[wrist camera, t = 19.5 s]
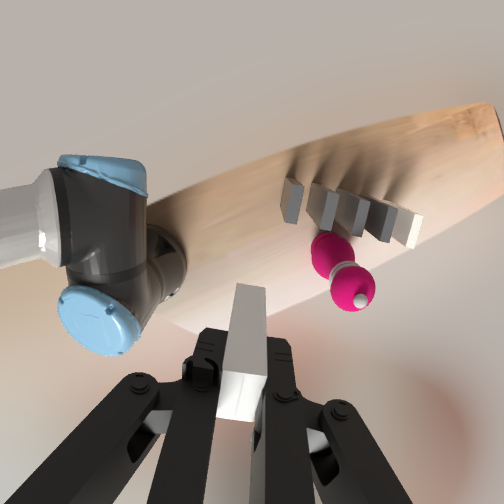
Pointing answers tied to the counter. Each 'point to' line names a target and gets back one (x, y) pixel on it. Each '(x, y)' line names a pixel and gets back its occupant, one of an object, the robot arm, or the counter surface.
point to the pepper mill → (342, 272)
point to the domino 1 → (291, 200)
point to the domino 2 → (322, 205)
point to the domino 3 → (351, 212)
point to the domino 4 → (380, 219)
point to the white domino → (405, 225)
